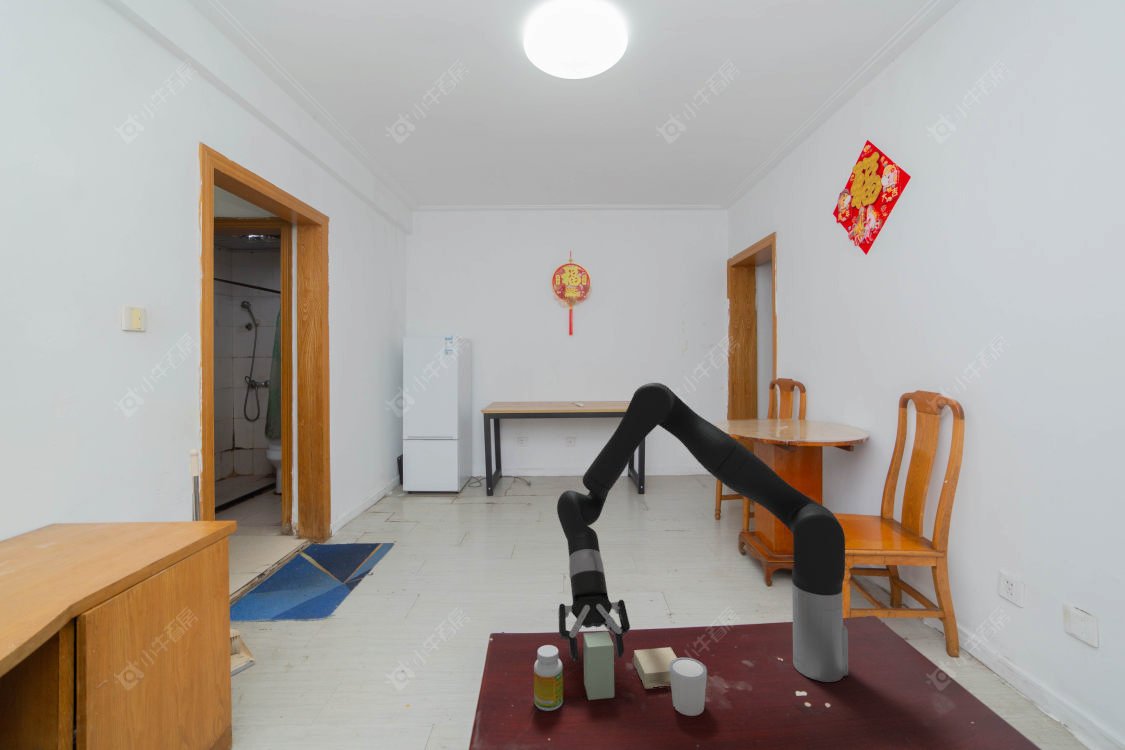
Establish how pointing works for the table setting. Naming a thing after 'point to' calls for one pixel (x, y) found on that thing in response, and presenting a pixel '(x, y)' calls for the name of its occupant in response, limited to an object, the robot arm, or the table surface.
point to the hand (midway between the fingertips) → (598, 659)
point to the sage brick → (598, 665)
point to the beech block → (654, 666)
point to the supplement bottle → (548, 679)
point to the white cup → (688, 685)
